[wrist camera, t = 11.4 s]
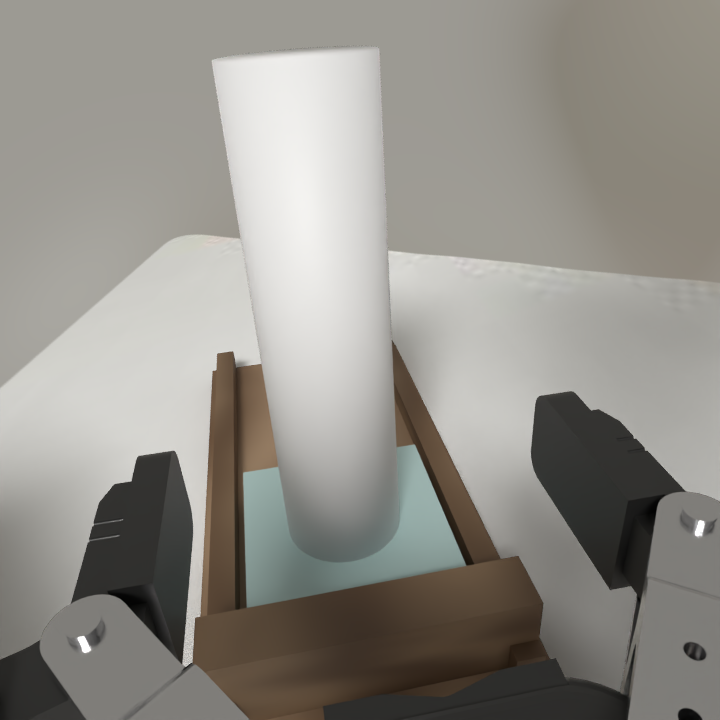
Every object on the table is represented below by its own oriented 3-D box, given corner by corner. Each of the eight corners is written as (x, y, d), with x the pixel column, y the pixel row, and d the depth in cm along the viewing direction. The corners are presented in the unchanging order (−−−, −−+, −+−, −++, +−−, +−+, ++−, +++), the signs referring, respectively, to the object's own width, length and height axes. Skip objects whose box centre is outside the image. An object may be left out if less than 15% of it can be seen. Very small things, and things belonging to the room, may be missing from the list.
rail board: (395, 355, 42) (393, 303, 40) (555, 689, 21) (566, 615, 19) (215, 381, 40) (203, 329, 38) (198, 768, 20) (173, 696, 18)
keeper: (415, 469, 30) (404, 36, 21) (470, 605, 23) (490, 49, 14) (248, 497, 29) (158, 56, 20) (253, 649, 22) (120, 81, 13)
